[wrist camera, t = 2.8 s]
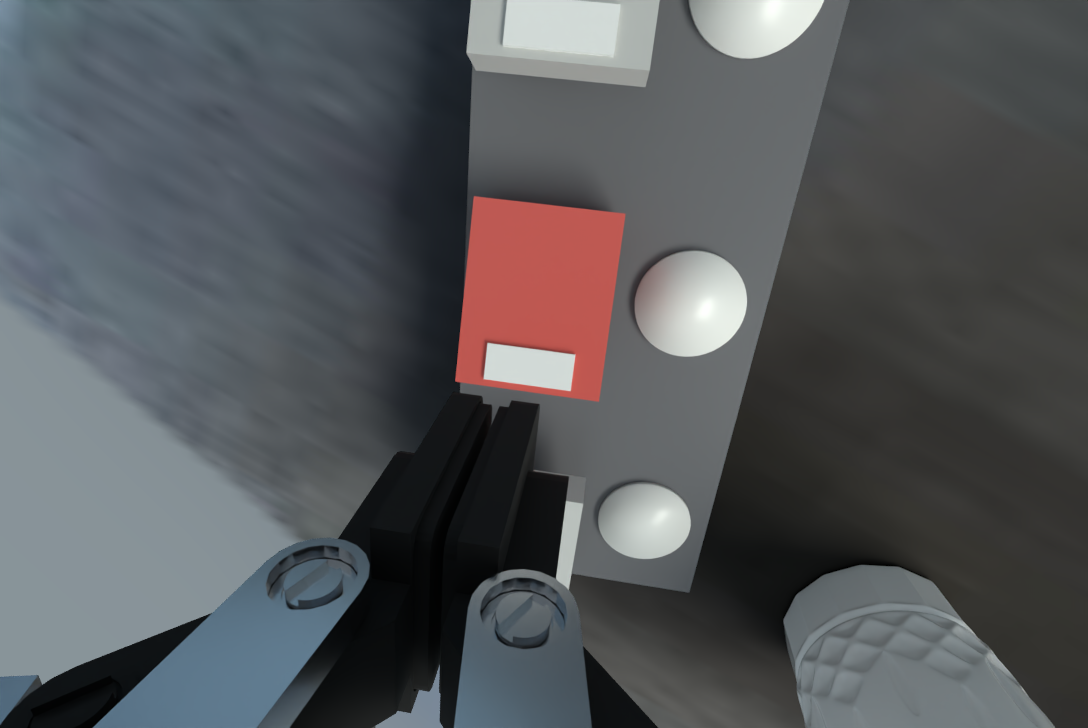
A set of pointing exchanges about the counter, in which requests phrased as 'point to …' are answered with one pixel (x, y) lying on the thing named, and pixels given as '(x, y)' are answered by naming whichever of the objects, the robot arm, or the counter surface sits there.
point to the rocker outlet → (570, 527)
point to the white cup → (896, 658)
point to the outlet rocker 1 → (564, 39)
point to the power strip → (664, 253)
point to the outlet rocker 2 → (538, 297)
